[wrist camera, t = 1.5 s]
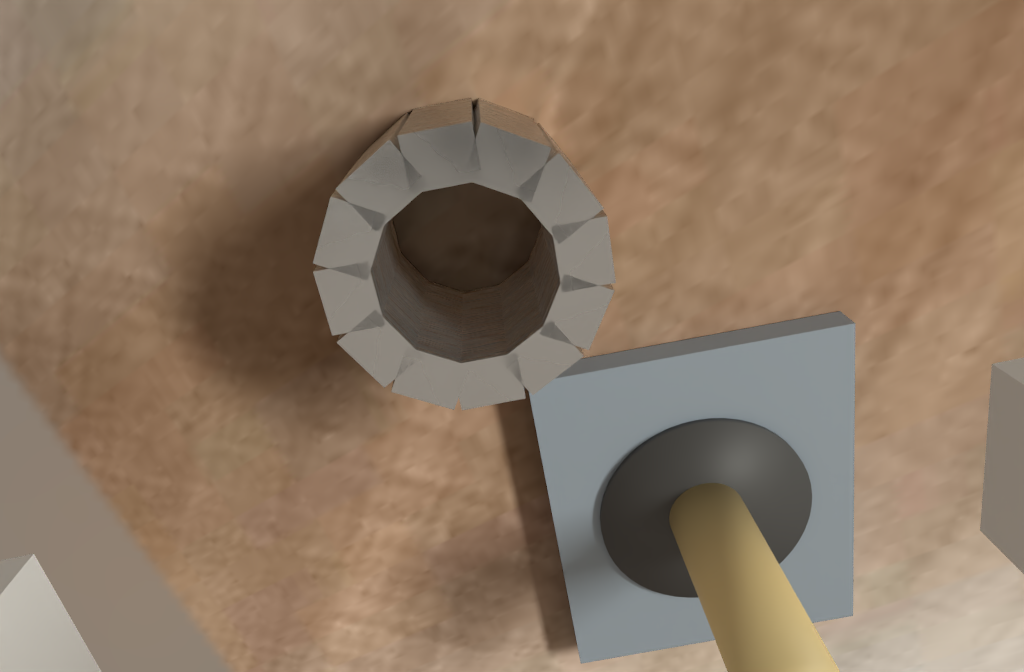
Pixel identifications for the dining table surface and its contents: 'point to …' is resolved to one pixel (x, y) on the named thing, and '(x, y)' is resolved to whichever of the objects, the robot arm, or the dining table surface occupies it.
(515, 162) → the ring
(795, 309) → the dining table surface
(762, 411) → the square base plate
